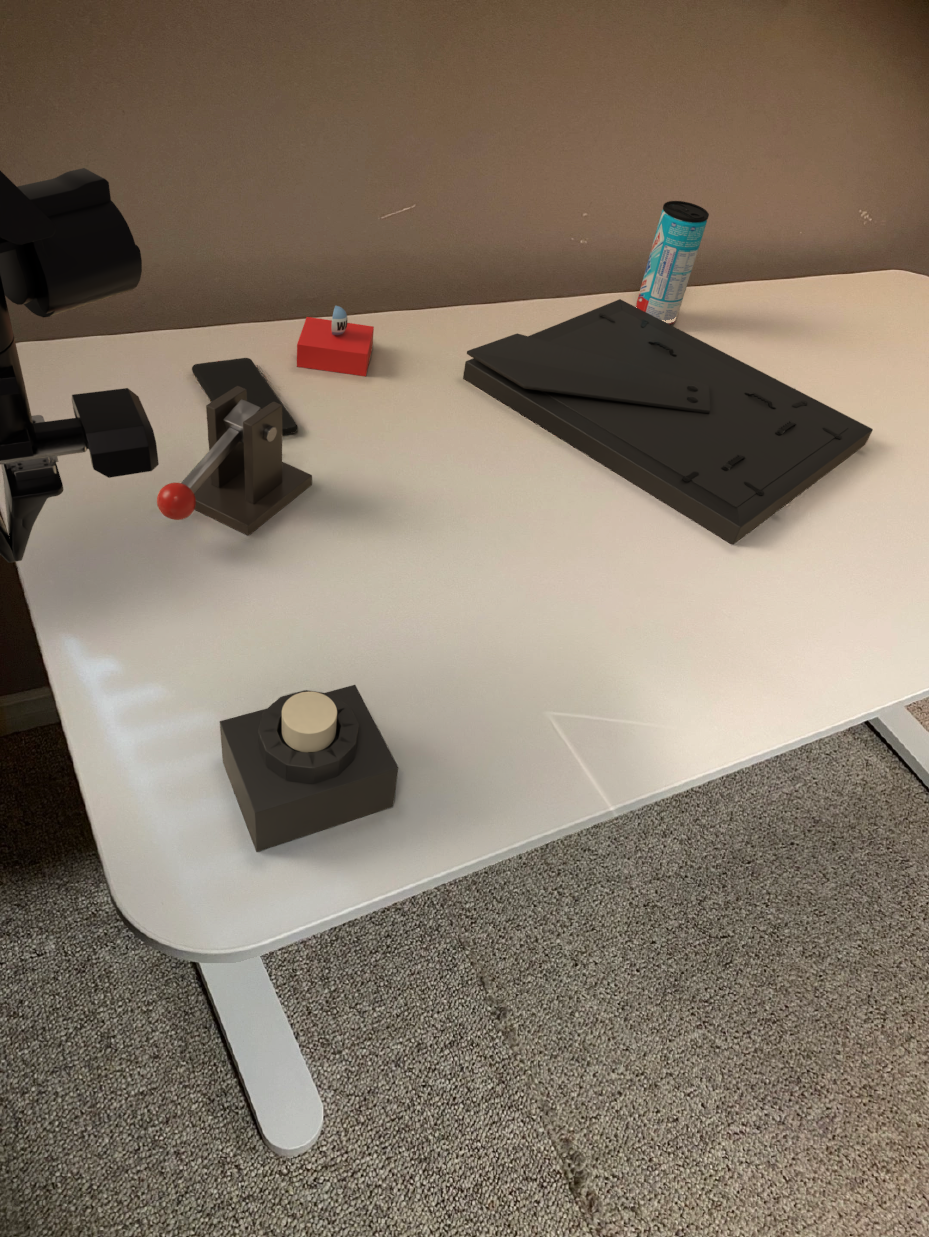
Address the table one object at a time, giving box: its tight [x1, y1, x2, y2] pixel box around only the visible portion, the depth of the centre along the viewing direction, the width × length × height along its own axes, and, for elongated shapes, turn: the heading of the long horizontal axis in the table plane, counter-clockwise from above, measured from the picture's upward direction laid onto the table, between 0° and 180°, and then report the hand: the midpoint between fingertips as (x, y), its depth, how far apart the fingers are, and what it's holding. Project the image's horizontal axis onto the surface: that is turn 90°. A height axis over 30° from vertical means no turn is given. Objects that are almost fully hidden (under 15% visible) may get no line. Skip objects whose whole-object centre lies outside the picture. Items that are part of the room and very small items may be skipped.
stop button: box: [282, 691, 337, 753], centre depth 62 cm, size 4×4×2 cm
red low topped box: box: [296, 305, 375, 377], centre depth 108 cm, size 8×7×6 cm
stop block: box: [219, 684, 399, 853], centre depth 65 cm, size 10×8×6 cm
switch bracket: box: [194, 386, 313, 536], centre depth 86 cm, size 10×8×10 cm
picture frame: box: [462, 298, 874, 545], centre depth 110 cm, size 31×4×38 cm
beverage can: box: [635, 200, 710, 326], centre depth 124 cm, size 6×6×15 cm
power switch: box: [156, 399, 261, 521], centre depth 82 cm, size 13×3×3 cm, turn 151°
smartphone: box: [191, 357, 299, 436], centre depth 100 cm, size 7×1×15 cm
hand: (14, 557), depth 61 cm, fingers closed
